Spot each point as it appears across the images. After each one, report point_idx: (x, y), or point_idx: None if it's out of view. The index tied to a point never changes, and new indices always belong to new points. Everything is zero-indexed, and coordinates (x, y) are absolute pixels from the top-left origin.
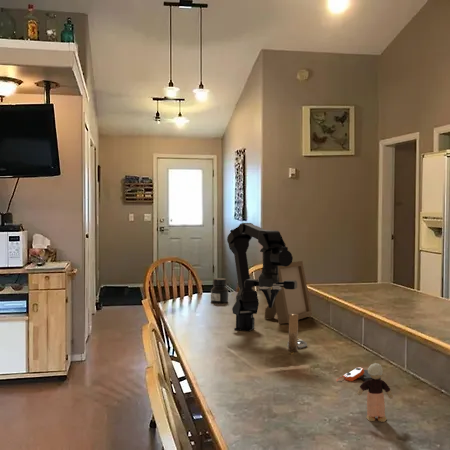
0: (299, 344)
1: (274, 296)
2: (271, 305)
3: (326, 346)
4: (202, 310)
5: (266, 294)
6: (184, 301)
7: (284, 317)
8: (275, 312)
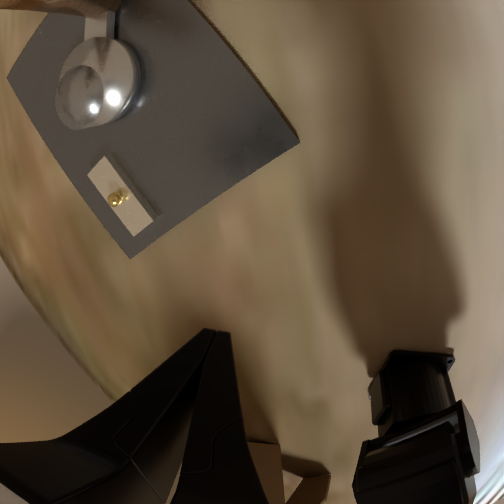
0: (74, 57)
1: (96, 421)
2: (191, 342)
3: (34, 180)
4: (480, 477)
5: (215, 479)
6: (488, 498)
7: (254, 459)
8: (296, 492)
